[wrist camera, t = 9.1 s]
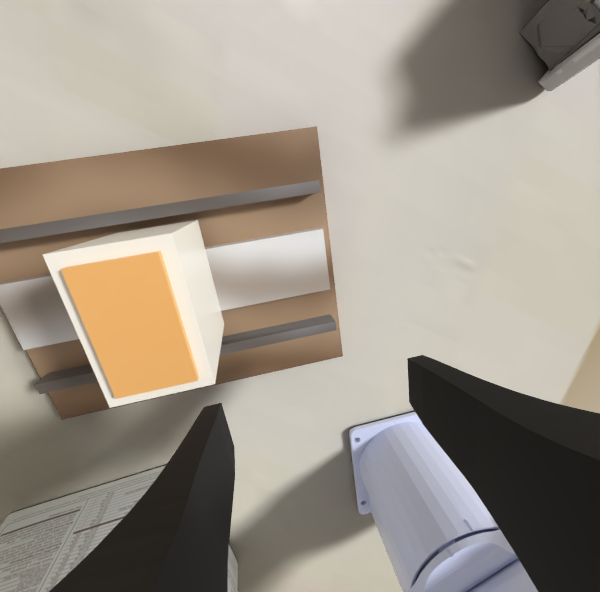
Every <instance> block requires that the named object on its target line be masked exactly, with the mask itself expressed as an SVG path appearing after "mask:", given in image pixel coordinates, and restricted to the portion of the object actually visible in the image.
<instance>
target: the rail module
mask: <svg viewBox="0 0 600 592" xmlns="http://www.w3.org/2000/svg"><path fill="white" fill-rule="evenodd" d="M43 257H44V259H45V262H46V264H47V266H48V269H49V271H50V273H51V275H52V278H53V280H54V282H55V284H56V287H57V289H58V291H59V294H60V296H61V298H62V300H63V303H64V305H65V307H66V309H67V312H68V314H69V316H70V319H71V321H72V323H73V325H74V328H75V330H76V332H77V334H78V337H79V339H80V341H81V344H82V346H83V348H84V350H85V353H86V355H87V357H88V359H89V362H90V364H91V366H92V369H93V371H94V373H95V375H96V378H97V380H98V382H99V384H100V387H101V389H102V391H103V394H104V396H105V398H106V400H107V403H108V405H109V407H110V408H111V407H116V406H120V405H125V404H129V403H134V402H138V401H142V400H147V399H151V398H156V397H160V396H165V395H169V394H173V393H178V392H182V391H187V390H191V389H196V388H200V387H204V386H209V385H213V384H215V381H216V375H217V368H218V362H219V355H220V349H221V343H222V336H223V330H224V321H223V317H222V313H221V309H220V305H219V301H218V297H217V293H216V290H215V286H214V282H213V278H212V274H211V270H210V266H209V262H208V258H207V254H206V250H205V246H204V242H203V238H202V234H201V231H200V227H199V223H198V220H193V221H187V222H181V223H175V224H169V225H162V226H156V227H150V228H144V229H138V230H132V231H125V232H119V233H115V234H111V235H108V236H105V237H101V238H98V239H94V240H91V241H87V242H84V243H80V244H77V245H74V246H70V247H67V248H63V249H60V250H56V251H53V252H50V253H46V254H43Z"/></svg>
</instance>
